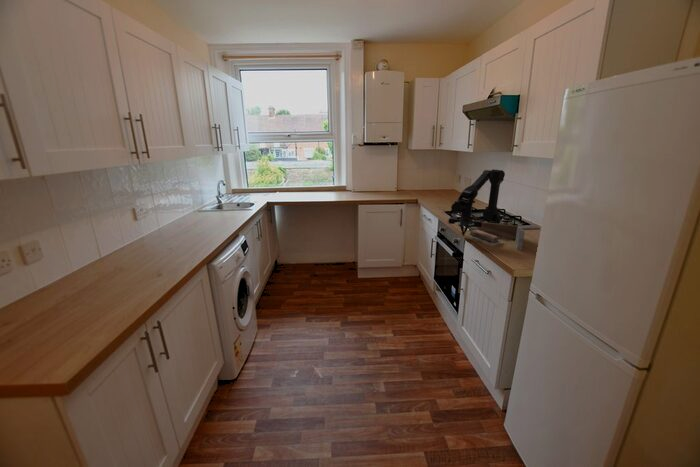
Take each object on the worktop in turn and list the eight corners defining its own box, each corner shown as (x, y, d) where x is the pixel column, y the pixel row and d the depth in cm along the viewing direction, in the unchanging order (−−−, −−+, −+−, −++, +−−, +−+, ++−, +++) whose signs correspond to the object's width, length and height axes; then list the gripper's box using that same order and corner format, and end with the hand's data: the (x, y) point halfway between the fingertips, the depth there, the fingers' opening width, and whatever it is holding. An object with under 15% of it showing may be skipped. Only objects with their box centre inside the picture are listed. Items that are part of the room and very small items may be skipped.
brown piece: (476, 233, 192) (479, 218, 189) (518, 238, 183) (521, 223, 180) (475, 244, 174) (477, 227, 171) (521, 250, 165) (524, 233, 162)
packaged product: (467, 230, 185) (479, 227, 189) (466, 237, 186) (478, 235, 191) (493, 239, 170) (504, 236, 174) (491, 247, 171) (503, 244, 175)
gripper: (448, 212, 176) (445, 237, 181) (483, 215, 169) (479, 241, 174) (450, 207, 185) (448, 231, 191) (483, 211, 178) (479, 235, 183)
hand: (463, 235), depth 184 cm, fingers closed
